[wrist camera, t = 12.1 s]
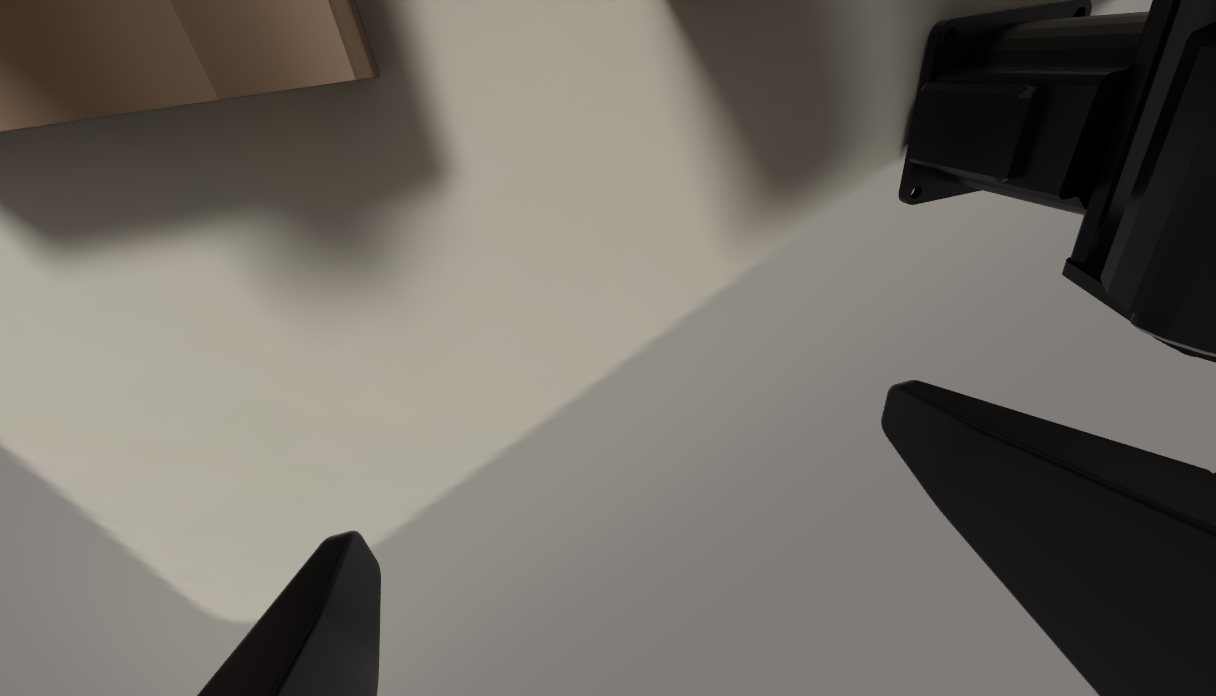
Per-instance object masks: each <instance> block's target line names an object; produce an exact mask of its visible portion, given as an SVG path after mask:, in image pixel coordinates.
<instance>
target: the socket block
mask: <svg viewBox="0 0 1216 696" xmlns="http://www.w3.org/2000/svg"><path fill="white" fill-rule="evenodd" d="M372 77H379V72H378V69H377V66H376V63H375V60H374V57H373V54H372V51H371V48H370V45H369V42H368V39H367V36H366V33H365V30H364V27H363V24H362V21H361V17H360V14H359V11H358V8H357V5H356V2H355V0H0V131H7V130H14V129H21V128H28V127H35V126H42V125H49V124H55V123H62V122H69V121H76V120H83V119H90V118H97V117H104V116H111V115H117V114H124V113H131V112H138V111H145V110H152V109H159V108H166V107H172V106H179V105H186V104H193V103H200V102H207V101H214V100H221V99H228V98H234V97H241V96H248V95H255V94H262V93H269V92H276V91H283V90H289V89H296V88H303V87H310V86H317V85H324V84H331V83H338V82H344V81H351V80H358V79H365V78H372Z"/></svg>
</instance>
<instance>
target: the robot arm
mask: <svg viewBox="0 0 1216 696" xmlns="http://www.w3.org/2000/svg"><path fill="white" fill-rule="evenodd" d="M1091 8H1092V5H1091V1H1090V0H1068V1H1061V2H1055V3H1048V4H1042V5H1035V6H1029V7H1022V8H1016V9H1009V10H1003V11H996V12H990V13H983V14H977V15H970V16H964V17H957V18H951V19H944V20H942V21H939V22H938V23H937V24H936V25H935V26H934V28H933V29H932V31H931V33H930V36H929V40H928V45H927V50H926V55H925V61H924V66H923V71H922V76H921V81H920V86H919V91H918V97H917V102H916V107H915V112H914V117H913V122H912V127H911V133H910V138H909V143H908V148H907V153H906V158H905V163H904V169H903V174H902V179H901V184H900V189H899V199H900V201H902V202H904V203H907V204H910V205H911V204H912V205H915V204H919V203H924V202H929V201H934V200H938V199H942V198H948V197H952V196H957V195H962V194H967V193H971V192H976V191H981V190H984V191H988V192H992V193H997V194H1000V195H1004V196H1008V197H1012V198H1016V199H1020V200H1024V201H1028V202H1033V203H1036V204H1041V205H1044V206H1048V207H1053V208H1057V209H1060V210H1065V211H1068V212H1073V213H1077V214H1081V215H1084V217H1083V221H1082V224H1081V227H1080V230H1079V233H1078V236H1077V239H1076V243H1075V246H1074V249H1073V252H1072V255H1071V257H1070V258H1068V259H1067V260H1066V263H1065V266H1064V269H1063V273H1062V275H1063V276H1065V277H1066V278H1068V279H1069V280H1071V281H1072V282H1074V283H1075V284H1077V285H1078V286H1079V287H1081V288H1082V289H1084V290H1085V291H1087V292H1088V293H1090V294H1091V295H1093V296H1094V297H1096V298H1097V299H1098V300H1100V301H1101V302H1103V303H1104V304H1106V305H1107V306H1109V307H1110V308H1112V309H1113V310H1114V311H1116V312H1117V313H1119V314H1120V315H1122V316H1123V317H1125V318H1126V319H1128V320H1129V321H1131V323H1132V324H1133V325H1134V326H1135V327H1136V328H1137V329H1139V330H1140V331H1142V332H1145V333H1147V334H1149V335H1151V336H1152V337H1154V338H1155V339H1157V340H1159V341H1161V342H1162V343H1164V344H1166V345H1168V346H1170V347H1172V348H1174V349H1177V350H1178V351H1180V352H1181V353H1183V354H1186V355H1189V356H1193V357H1199V358H1202V359H1205V360H1209V361H1212V362H1216V0H1153V1H1152V5H1151V8H1150V11H1149V12H1138V13H1125V14H1113V15H1099V16H1090V13H1091ZM946 31H947V37H946V39H945V41H944V35H945V32H946ZM914 188H915V190H914V192H913V194H912V195H911V193H912V190H913V189H914ZM881 424H882V428H883V431H884V433H885V434H886V436H887V438H888V439H889V441H890V442H891V443H892V445H893V446H894V447H895V449H896V450H897V452H898V453H899V455H900V456H901V457H902V459H903V460H904V462H905V463H906V464H907V466H908V467H909V469H910V470H911V471H912V473H913V474H914V476H915V477H916V479H918V481H919V483H920V484H921V486H922V487H923V488H924V490H925V491H926V493H927V494H928V495H929V497H930V498H931V499H932V501H933V502H934V503H935V505H936V506H937V507H938V508H939V510H940V511H941V512H942V513H943V515H944V516H945V517H946V518H947V519H948V521H949V522H950V523H951V524H952V525H953V526H954V528H955V529H956V530H957V531H958V532H959V533H960V535H961V536H962V537H963V538H964V539H965V540H966V542H967V543H968V544H969V545H970V546H971V547H972V549H973V550H974V551H975V552H976V553H977V554H978V555H979V557H980V558H981V559H982V560H983V561H984V562H985V564H986V565H987V566H988V567H989V568H990V569H991V570H992V572H993V573H994V574H995V575H996V576H997V577H998V579H999V580H1000V581H1001V582H1002V583H1003V584H1004V585H1005V587H1006V588H1007V589H1008V590H1009V591H1010V593H1011V594H1012V595H1013V596H1014V597H1015V598H1016V600H1017V601H1018V602H1019V603H1020V604H1021V605H1022V607H1023V608H1024V609H1025V610H1026V611H1027V612H1028V613H1029V615H1030V616H1031V617H1032V618H1033V619H1034V620H1035V622H1036V623H1037V624H1038V625H1039V626H1040V627H1041V629H1042V630H1043V631H1044V632H1045V633H1046V634H1047V635H1048V637H1049V638H1050V639H1051V640H1052V641H1053V643H1054V644H1055V645H1056V646H1057V647H1058V648H1059V649H1060V651H1061V652H1062V653H1063V654H1064V655H1065V656H1066V658H1067V659H1068V660H1069V661H1070V662H1071V663H1072V665H1073V666H1074V667H1075V668H1076V669H1077V670H1078V672H1079V673H1080V674H1081V675H1082V676H1083V677H1084V679H1085V680H1086V681H1087V682H1088V683H1089V684H1090V685H1091V687H1092V688H1093V689H1094V690H1095V691H1096V692H1097V693H1098V695H1099V696H1216V473H1212V472H1210V471H1209V470H1207V469H1203V468H1200V467H1197V466H1194V465H1191V464H1187V463H1184V462H1181V461H1178V460H1174V459H1171V458H1168V457H1165V456H1161V455H1158V454H1155V453H1152V452H1148V451H1145V450H1142V449H1139V448H1135V447H1132V446H1129V445H1126V444H1122V443H1119V442H1116V441H1113V440H1109V439H1106V438H1103V437H1100V436H1096V435H1093V434H1090V433H1087V432H1083V431H1080V430H1077V429H1074V428H1070V427H1067V426H1064V425H1060V424H1057V423H1054V422H1051V421H1047V420H1044V419H1041V418H1038V417H1035V416H1031V415H1028V414H1025V413H1022V412H1018V411H1015V410H1012V409H1009V408H1005V407H1002V406H999V405H996V404H992V403H989V402H986V401H983V400H979V399H976V398H973V397H970V396H966V395H963V394H960V393H957V392H954V391H950V390H947V389H943V388H940V387H937V386H934V385H931V384H928V383H924V382H921V381H917V380H911V381H907V382H903V383H899V384H895V385H893V386H892V387H891V388H890V389H889V391H888V394H887V398H886V402H885V406H884V411H883V415H882V420H881ZM380 600H381V572H380V567H379V564H378V562H377V560H376V558H375V557H374V555H373V553H372V552H371V550H370V548H369V547H368V545H367V544H366V542H365V540H364V539H363V537H362V536H361V534H360V533H359V532H357V531H349V532H345V533H341V534H338V535H334V536H330V537H328V538H327V539H325V540H324V541H323V542H322V543H321V544H320V546H319V547H318V548H317V549H316V551H315V552H314V553H313V554H312V555H311V557H310V558H309V559H308V560H307V562H306V563H305V564H304V565H303V567H302V568H301V569H300V570H299V571H298V573H297V574H296V575H295V576H294V578H293V579H292V580H291V581H290V582H289V584H288V585H287V586H286V587H285V589H284V590H283V591H282V592H281V593H280V595H279V596H278V597H277V598H276V600H275V601H274V602H273V603H272V605H271V606H270V607H269V608H268V609H267V611H266V612H265V613H264V614H263V616H262V617H261V618H260V619H259V620H258V622H257V623H256V624H255V625H254V627H253V628H252V629H251V630H250V632H249V633H248V634H247V635H246V636H245V638H244V639H243V640H242V641H241V643H240V644H239V645H238V646H237V648H236V649H235V650H234V651H233V652H232V654H231V655H230V656H229V657H228V659H227V660H226V661H225V662H224V663H223V665H222V666H221V667H220V668H219V670H218V671H217V672H216V673H215V675H214V676H213V677H212V678H211V680H210V681H209V682H208V683H207V684H206V685H205V687H204V688H203V689H202V691H201V692H200V693H199V694H198V695H197V696H377V689H378V677H379V645H380V643H379V642H380Z"/></svg>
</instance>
